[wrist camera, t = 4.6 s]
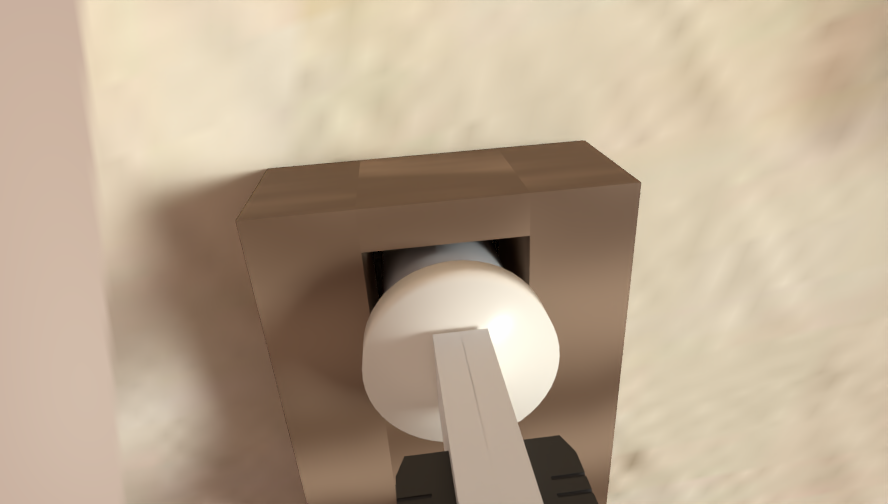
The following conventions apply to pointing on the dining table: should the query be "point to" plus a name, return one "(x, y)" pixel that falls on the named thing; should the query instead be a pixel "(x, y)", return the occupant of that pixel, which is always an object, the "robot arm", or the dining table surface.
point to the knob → (452, 310)
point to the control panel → (426, 224)
